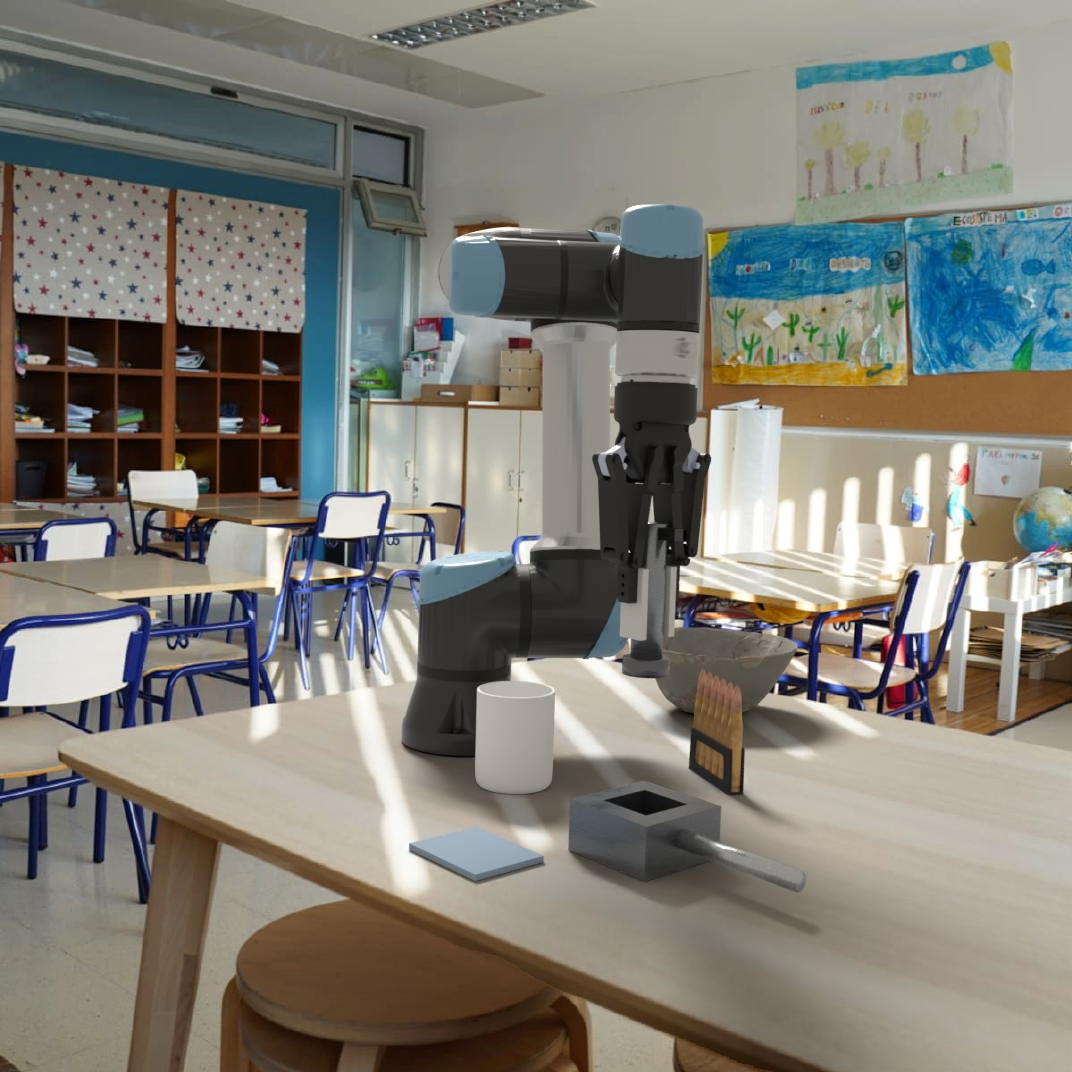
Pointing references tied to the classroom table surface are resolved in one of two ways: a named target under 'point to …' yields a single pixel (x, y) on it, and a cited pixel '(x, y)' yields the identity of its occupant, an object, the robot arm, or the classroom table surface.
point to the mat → (476, 853)
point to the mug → (514, 736)
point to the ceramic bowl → (723, 663)
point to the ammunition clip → (718, 735)
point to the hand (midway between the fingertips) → (646, 635)
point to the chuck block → (661, 835)
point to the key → (653, 607)
